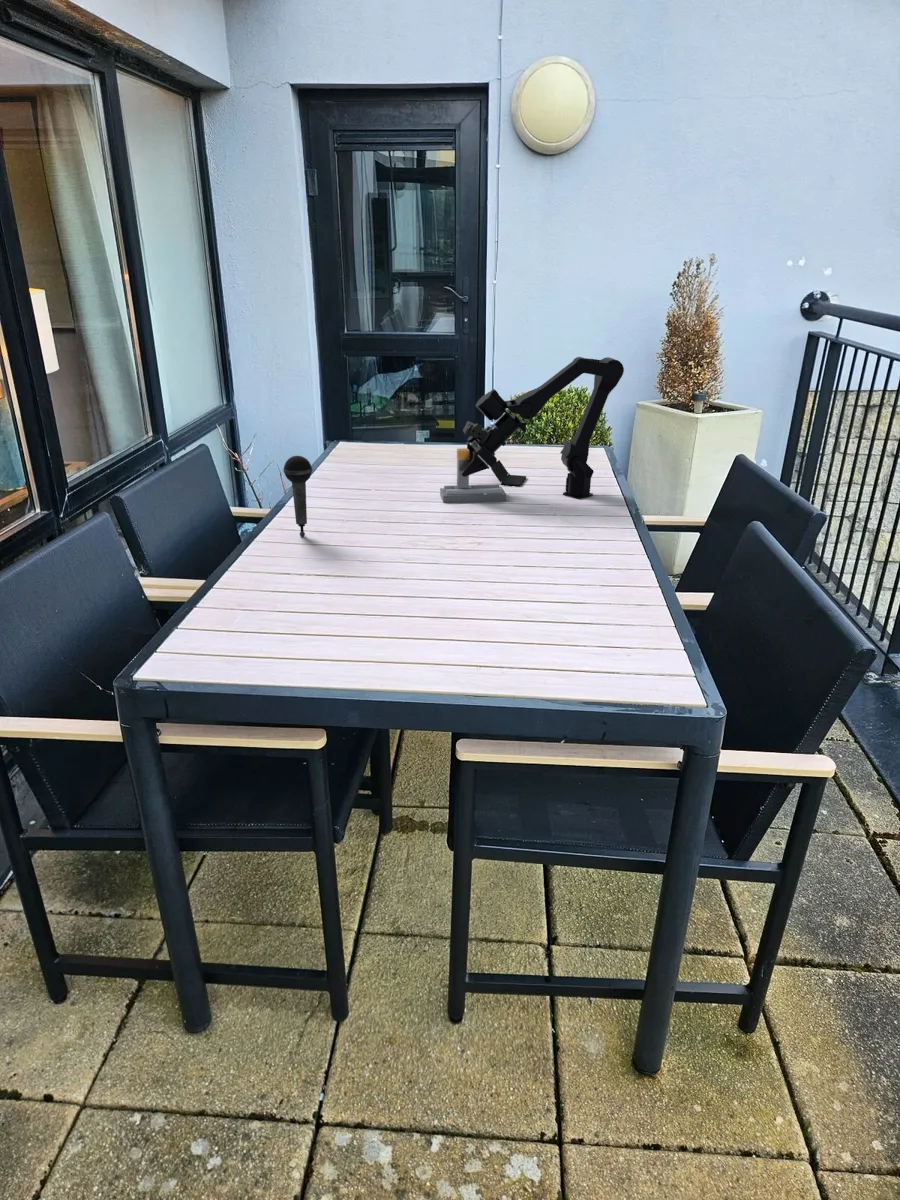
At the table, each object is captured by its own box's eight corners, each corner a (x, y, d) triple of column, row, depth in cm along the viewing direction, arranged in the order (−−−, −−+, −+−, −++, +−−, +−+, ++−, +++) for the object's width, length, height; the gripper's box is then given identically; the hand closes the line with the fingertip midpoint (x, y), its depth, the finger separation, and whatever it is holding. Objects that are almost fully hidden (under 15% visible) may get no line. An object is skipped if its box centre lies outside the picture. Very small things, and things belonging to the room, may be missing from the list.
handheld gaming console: (527, 482, 237) (507, 455, 235) (507, 496, 239) (488, 469, 237) (527, 478, 248) (509, 452, 246) (509, 491, 250) (490, 465, 248)
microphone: (310, 542, 189) (305, 460, 181) (283, 540, 191) (277, 458, 183) (320, 533, 196) (315, 453, 188) (294, 531, 197) (288, 452, 189)
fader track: (501, 493, 231) (501, 482, 229) (506, 501, 223) (506, 490, 222) (440, 495, 228) (440, 484, 227) (443, 502, 221) (443, 491, 220)
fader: (470, 489, 226) (471, 448, 222) (472, 492, 224) (472, 450, 219) (453, 489, 226) (453, 448, 221) (454, 492, 223) (455, 451, 218)
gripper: (475, 405, 225) (437, 444, 228) (486, 417, 208) (444, 459, 211) (501, 433, 229) (463, 471, 232) (514, 447, 212) (472, 487, 215)
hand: (460, 471), depth 222 cm, fingers open, 9 cm apart
